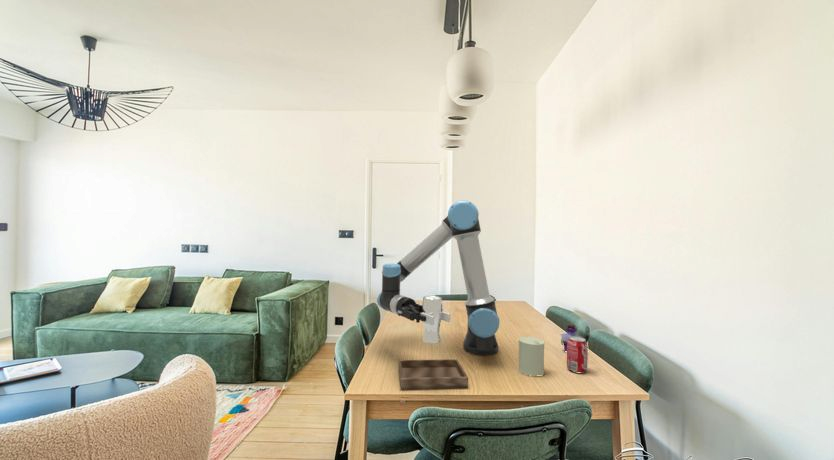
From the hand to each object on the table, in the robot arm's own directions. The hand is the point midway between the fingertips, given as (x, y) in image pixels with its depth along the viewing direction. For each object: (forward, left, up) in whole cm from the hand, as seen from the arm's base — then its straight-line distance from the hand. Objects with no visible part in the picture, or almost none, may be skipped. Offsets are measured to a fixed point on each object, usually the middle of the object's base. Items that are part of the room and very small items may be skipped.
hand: (441, 319), depth 112 cm
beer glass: (+3, -4, -9) cm, 10 cm away
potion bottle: (-63, -27, -22) cm, 72 cm away
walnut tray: (+2, -4, -22) cm, 22 cm away
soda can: (-54, -8, -22) cm, 58 cm away
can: (-36, -8, -22) cm, 43 cm away
